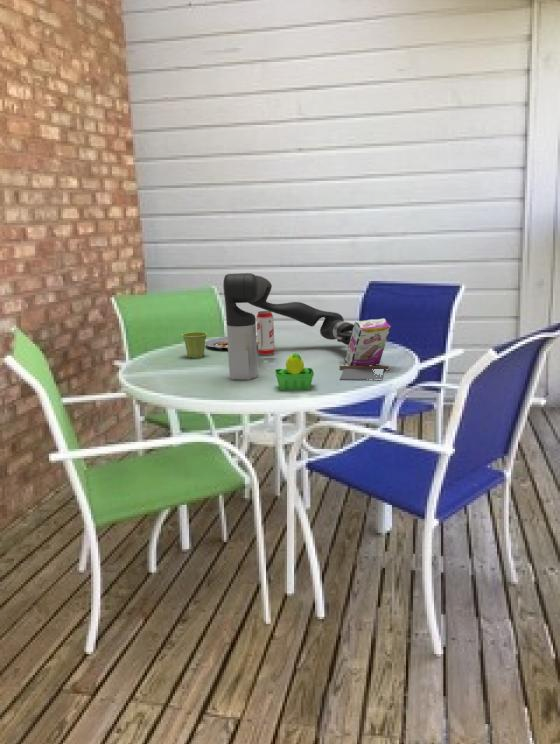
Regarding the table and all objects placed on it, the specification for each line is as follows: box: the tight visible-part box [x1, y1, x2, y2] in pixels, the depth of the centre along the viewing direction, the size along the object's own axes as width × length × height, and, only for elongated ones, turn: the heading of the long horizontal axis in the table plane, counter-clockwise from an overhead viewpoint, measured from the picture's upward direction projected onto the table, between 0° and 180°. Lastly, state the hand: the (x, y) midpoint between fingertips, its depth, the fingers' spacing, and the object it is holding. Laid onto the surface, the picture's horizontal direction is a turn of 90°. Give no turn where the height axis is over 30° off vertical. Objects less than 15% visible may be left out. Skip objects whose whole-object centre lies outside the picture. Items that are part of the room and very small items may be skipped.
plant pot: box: [181, 331, 208, 359], centre depth 244 cm, size 9×9×9 cm
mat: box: [339, 369, 384, 381], centre depth 208 cm, size 14×13×1 cm
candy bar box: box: [344, 318, 391, 366], centre depth 215 cm, size 11×5×16 cm, turn 111°
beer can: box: [256, 310, 275, 356], centre depth 243 cm, size 6×6×16 cm
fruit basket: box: [274, 352, 315, 391], centre depth 194 cm, size 11×9×11 cm
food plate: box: [205, 335, 258, 350], centre depth 264 cm, size 25×23×4 cm
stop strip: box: [339, 365, 390, 371], centre depth 214 cm, size 1×16×1 cm, turn 79°
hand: (363, 341), depth 218 cm, fingers closed
